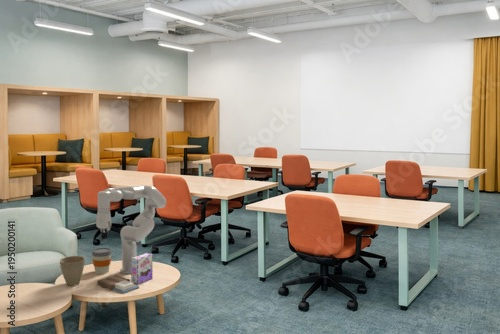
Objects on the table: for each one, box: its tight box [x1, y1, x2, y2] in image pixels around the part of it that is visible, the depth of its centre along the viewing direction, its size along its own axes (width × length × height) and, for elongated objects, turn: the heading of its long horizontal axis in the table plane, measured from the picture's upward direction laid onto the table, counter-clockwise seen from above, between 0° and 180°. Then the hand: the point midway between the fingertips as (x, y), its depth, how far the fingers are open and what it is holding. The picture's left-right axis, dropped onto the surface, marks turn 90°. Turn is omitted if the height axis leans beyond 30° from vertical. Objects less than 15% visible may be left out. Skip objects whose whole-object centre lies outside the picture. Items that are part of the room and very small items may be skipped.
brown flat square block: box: [96, 274, 131, 291], centre depth 287 cm, size 14×14×3 cm
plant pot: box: [59, 255, 86, 287], centre depth 286 cm, size 15×15×16 cm
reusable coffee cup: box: [91, 247, 112, 275], centre depth 311 cm, size 13×13×15 cm
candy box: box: [130, 252, 153, 285], centre depth 294 cm, size 14×6×16 cm, turn 149°
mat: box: [112, 284, 140, 295], centre depth 280 cm, size 12×10×1 cm
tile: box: [115, 280, 135, 291], centre depth 280 cm, size 8×8×2 cm
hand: (104, 238), depth 294 cm, fingers closed
